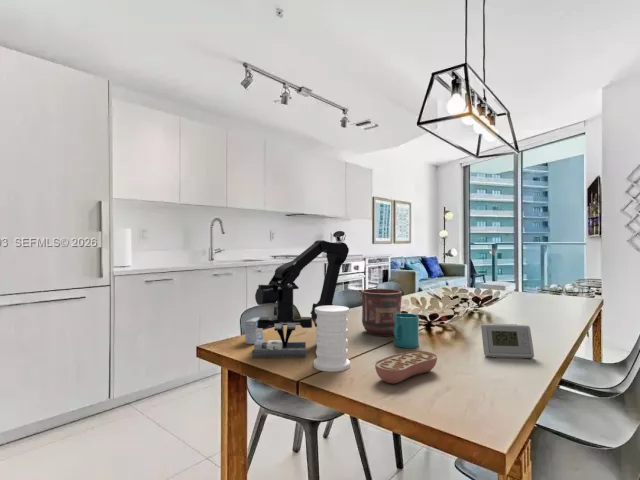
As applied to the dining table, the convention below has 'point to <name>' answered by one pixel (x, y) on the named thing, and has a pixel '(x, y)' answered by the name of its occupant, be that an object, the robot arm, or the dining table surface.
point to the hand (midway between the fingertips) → (285, 347)
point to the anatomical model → (405, 365)
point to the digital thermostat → (507, 341)
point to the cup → (406, 330)
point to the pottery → (380, 310)
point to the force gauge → (273, 344)
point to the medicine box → (252, 331)
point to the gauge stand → (279, 350)
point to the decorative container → (331, 338)
